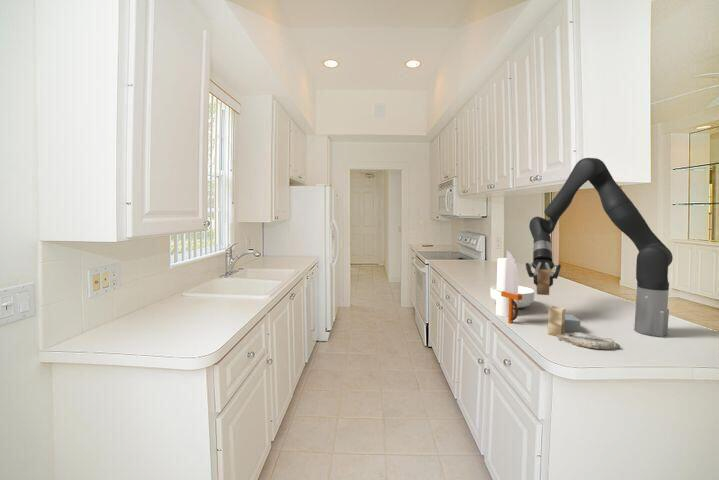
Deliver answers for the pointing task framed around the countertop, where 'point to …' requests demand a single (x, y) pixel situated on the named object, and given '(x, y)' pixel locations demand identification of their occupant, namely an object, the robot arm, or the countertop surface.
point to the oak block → (556, 321)
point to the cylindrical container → (501, 289)
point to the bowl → (524, 291)
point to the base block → (571, 324)
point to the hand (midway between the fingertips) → (543, 284)
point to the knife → (511, 286)
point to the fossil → (588, 341)
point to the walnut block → (543, 281)
